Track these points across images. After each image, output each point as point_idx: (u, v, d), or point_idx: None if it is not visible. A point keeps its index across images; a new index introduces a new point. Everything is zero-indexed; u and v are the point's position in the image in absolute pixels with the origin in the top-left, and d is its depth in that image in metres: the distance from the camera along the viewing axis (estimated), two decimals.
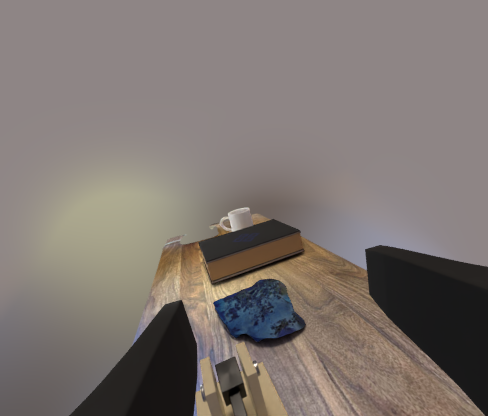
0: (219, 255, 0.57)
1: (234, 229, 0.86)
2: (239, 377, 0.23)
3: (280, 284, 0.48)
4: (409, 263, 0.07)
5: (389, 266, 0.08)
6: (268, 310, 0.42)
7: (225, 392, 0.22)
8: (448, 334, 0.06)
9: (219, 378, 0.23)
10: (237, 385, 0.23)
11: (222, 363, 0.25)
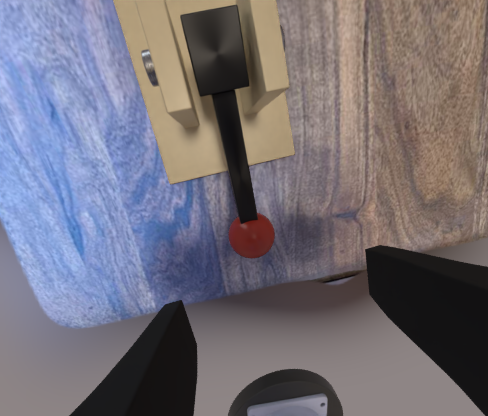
0: None
1: None
2: (241, 72, 0.10)
3: None
4: (409, 263, 0.07)
5: (389, 266, 0.08)
6: None
7: (207, 94, 0.10)
8: (448, 334, 0.06)
9: (194, 60, 0.10)
10: (235, 88, 0.10)
11: (201, 17, 0.09)
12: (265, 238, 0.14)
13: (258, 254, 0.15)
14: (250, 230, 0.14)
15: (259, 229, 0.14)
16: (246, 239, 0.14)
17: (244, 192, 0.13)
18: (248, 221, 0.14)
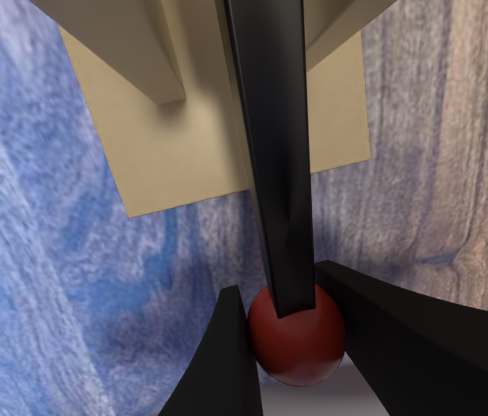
0: None
1: None
2: None
3: None
4: (341, 282, 0.07)
5: (328, 283, 0.08)
6: None
7: None
8: (374, 357, 0.06)
9: None
10: None
11: None
12: (336, 354, 0.06)
13: (317, 383, 0.07)
14: (302, 337, 0.06)
15: (322, 334, 0.06)
16: (293, 359, 0.06)
17: (293, 257, 0.05)
18: (295, 312, 0.06)
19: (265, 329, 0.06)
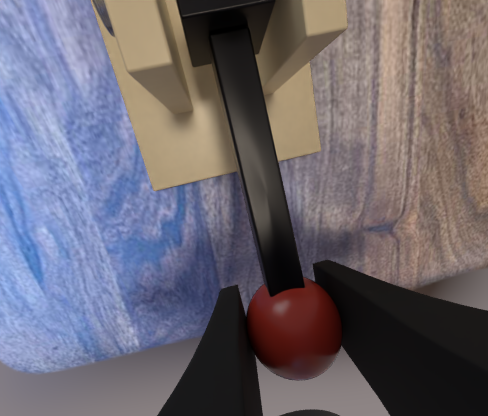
0: None
1: None
2: None
3: None
4: (342, 282, 0.07)
5: (329, 283, 0.08)
6: None
7: (197, 20, 0.05)
8: (374, 357, 0.06)
9: None
10: (249, 4, 0.05)
11: None
12: (327, 330, 0.06)
13: (315, 371, 0.06)
14: (292, 310, 0.07)
15: (311, 307, 0.07)
16: (284, 332, 0.06)
17: (274, 226, 0.07)
18: (286, 289, 0.07)
19: (259, 309, 0.07)
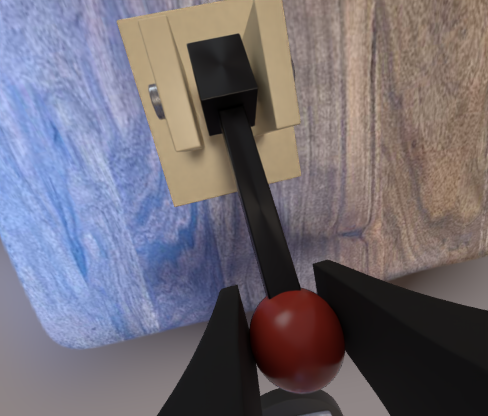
0: None
1: None
2: (247, 77, 0.09)
3: None
4: (342, 282, 0.07)
5: (329, 283, 0.08)
6: None
7: (210, 102, 0.09)
8: (375, 357, 0.06)
9: (196, 71, 0.09)
10: (241, 91, 0.09)
11: (205, 42, 0.09)
12: (323, 324, 0.07)
13: (315, 369, 0.06)
14: (287, 305, 0.07)
15: (306, 303, 0.07)
16: (281, 324, 0.07)
17: (268, 233, 0.08)
18: (283, 291, 0.08)
19: (259, 311, 0.08)
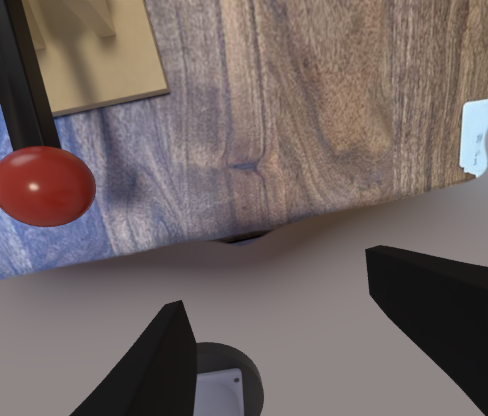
0: None
1: None
2: None
3: None
4: (409, 263, 0.07)
5: (389, 266, 0.08)
6: None
7: None
8: (448, 334, 0.06)
9: None
10: None
11: None
12: (38, 166, 0.08)
13: (23, 199, 0.08)
14: (15, 153, 0.08)
15: (32, 152, 0.08)
16: (0, 166, 0.08)
17: (14, 92, 0.08)
18: (26, 146, 0.08)
19: None
